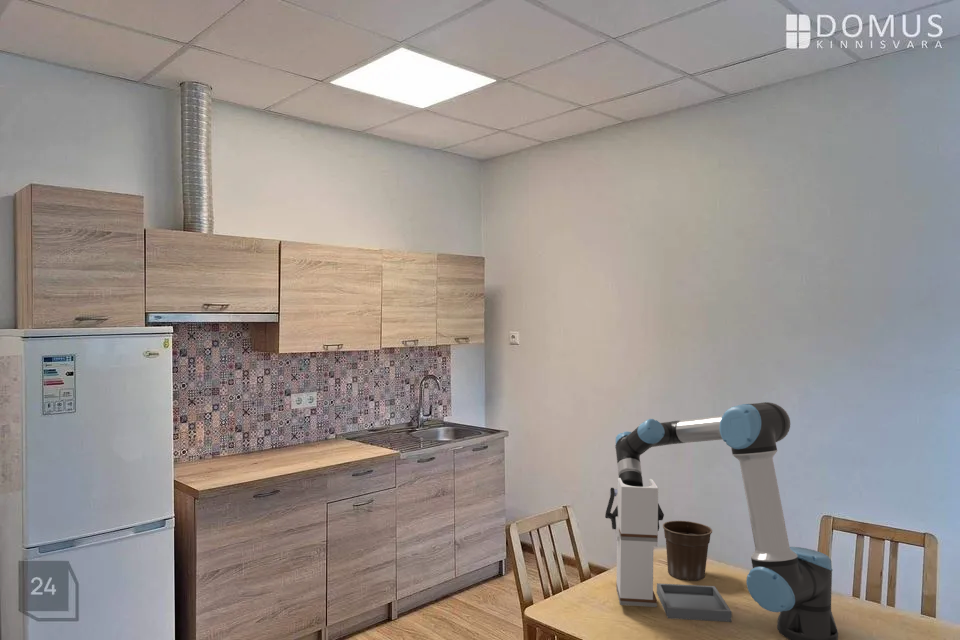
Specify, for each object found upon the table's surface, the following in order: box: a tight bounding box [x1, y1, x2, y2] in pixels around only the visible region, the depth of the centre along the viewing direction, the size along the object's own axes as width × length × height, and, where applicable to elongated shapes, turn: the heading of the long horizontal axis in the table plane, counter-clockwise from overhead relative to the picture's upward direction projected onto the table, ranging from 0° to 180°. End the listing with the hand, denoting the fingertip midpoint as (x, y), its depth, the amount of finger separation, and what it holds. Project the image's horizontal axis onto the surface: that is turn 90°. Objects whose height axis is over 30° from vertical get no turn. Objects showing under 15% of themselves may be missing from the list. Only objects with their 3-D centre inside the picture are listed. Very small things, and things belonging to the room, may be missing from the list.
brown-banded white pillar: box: [615, 477, 659, 608], centre depth 198 cm, size 11×11×35 cm
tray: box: [656, 583, 732, 623], centre depth 198 cm, size 18×18×3 cm
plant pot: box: [662, 520, 713, 582], centre depth 223 cm, size 16×16×16 cm
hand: (636, 539), depth 197 cm, fingers closed on brown-banded white pillar, 10 cm apart
